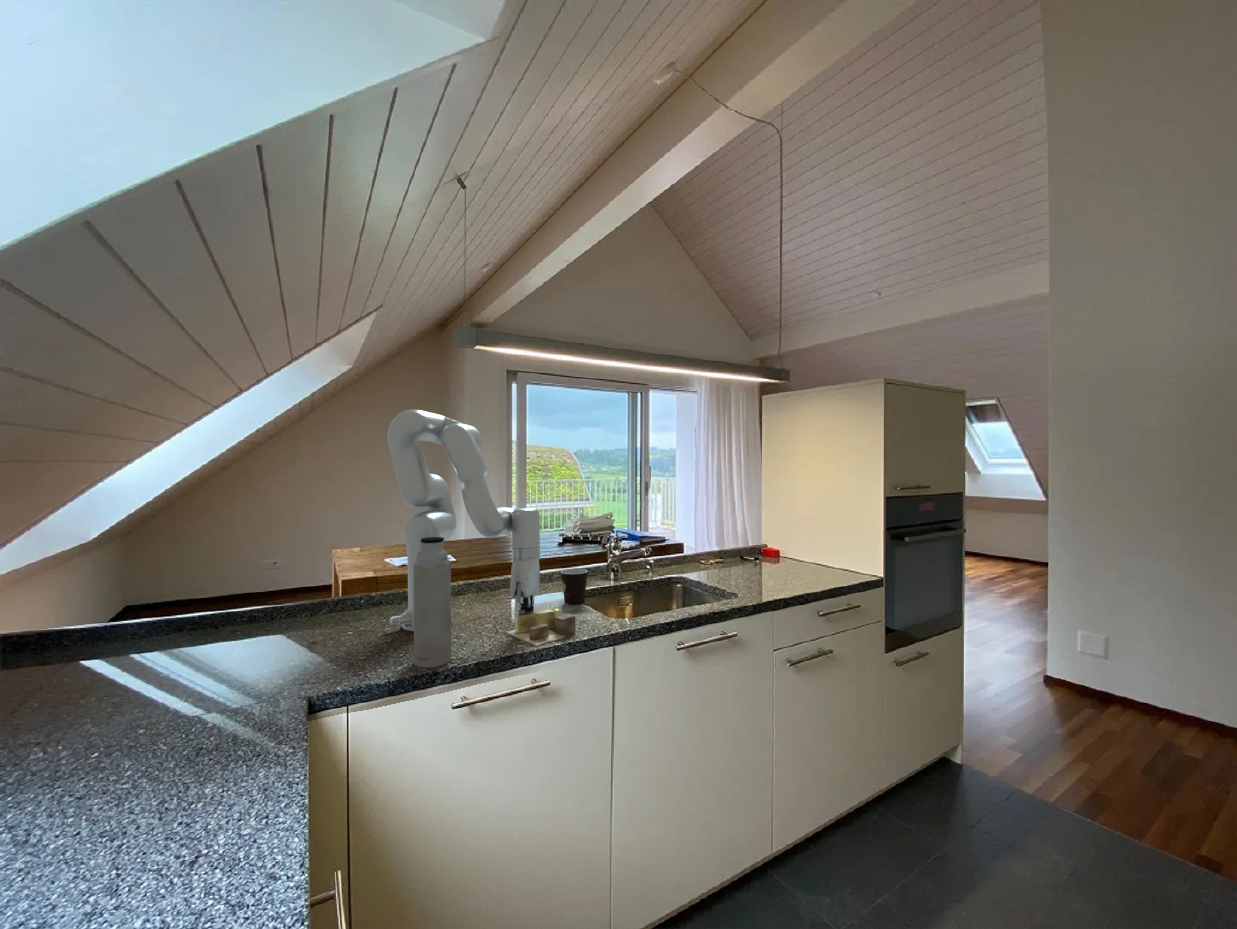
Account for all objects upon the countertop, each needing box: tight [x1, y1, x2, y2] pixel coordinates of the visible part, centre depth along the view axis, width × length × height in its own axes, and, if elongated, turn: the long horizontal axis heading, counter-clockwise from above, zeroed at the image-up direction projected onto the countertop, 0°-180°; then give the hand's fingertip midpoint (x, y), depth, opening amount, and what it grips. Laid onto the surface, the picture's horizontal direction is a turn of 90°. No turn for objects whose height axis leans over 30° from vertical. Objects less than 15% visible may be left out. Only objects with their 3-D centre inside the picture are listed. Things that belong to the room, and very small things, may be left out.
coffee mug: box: [560, 568, 588, 606], centre depth 166 cm, size 12×9×10 cm
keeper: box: [529, 624, 549, 641], centre depth 129 cm, size 5×2×3 cm, turn 134°
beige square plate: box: [505, 628, 567, 647], centre depth 134 cm, size 14×14×1 cm
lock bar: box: [514, 607, 563, 633], centre depth 136 cm, size 13×3×5 cm, turn 115°
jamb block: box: [554, 613, 576, 637], centre depth 134 cm, size 4×3×4 cm
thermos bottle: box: [413, 537, 452, 669], centre depth 115 cm, size 8×8×28 cm
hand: (527, 620), depth 139 cm, fingers closed
